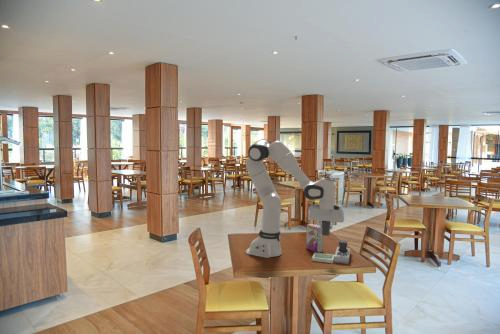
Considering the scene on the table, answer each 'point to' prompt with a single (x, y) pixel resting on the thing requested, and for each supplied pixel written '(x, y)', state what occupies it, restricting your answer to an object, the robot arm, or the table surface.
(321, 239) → the candy bar box
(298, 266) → the table surface
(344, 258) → the pdu strip
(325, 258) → the plug tray
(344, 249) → the seated twin plug
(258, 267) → the table surface
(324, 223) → the black plug
